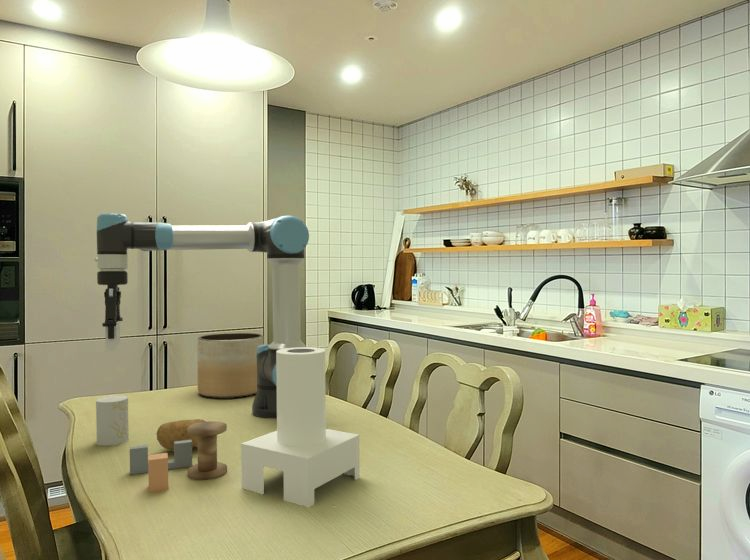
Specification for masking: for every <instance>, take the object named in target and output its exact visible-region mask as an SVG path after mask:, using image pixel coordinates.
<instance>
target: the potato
mask: <svg viewBox="0 0 750 560" xmlns="http://www.w3.org/2000/svg"><path fill="white" fill-rule="evenodd" d="M200 422H207V421H206V420H203V419H201V418H198V419H196V418H195V419H182V420H181V419H180V420H176V421H169V422H164V423H163V424H161V425H160V426H158V428H157V431H156V440H157V442H158V443H159V445H160V446H161V447H162V448H163V449H165V450H168V451H169V452H170V451H171V452H174V442H175V441H184V440H192V449H194V448H196V447H198V444H197V436H191V435H188V434H187V427H188V426H190V425H192V424H196V423H200Z"/></svg>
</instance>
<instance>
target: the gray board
mask: <svg viewBox="0 0 750 560" xmlns="http://www.w3.org/2000/svg"><path fill="white" fill-rule="evenodd" d="M148 455H149V445H148V444H143V445H135V446H129V475H130V476H131V475H136V474H145V473H148ZM173 456H174V459H171V460H169V459H168V470H174V469H181V468H187V467H188V468H190V467H191V466H193V448H192V440H184V441H175V442H174V451H173Z"/></svg>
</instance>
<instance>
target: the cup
mask: <svg viewBox="0 0 750 560" xmlns="http://www.w3.org/2000/svg"><path fill="white" fill-rule="evenodd" d="M95 408H96V409H95V411H96V414H95V415H96V416H95V417H96V419H95V421H96V422H95V423H96V444H97V445H98V446H102V447H103V446H104V447H110V446H116V445H117V446H118V445H121V444H125V443H126V442H128V441H129V440H130V439H129V438H130V437H129V436H130V435H129V397H128V396H127V395H108V396H103V397H100V398H97V399H96V400H95Z"/></svg>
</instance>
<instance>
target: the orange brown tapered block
mask: <svg viewBox="0 0 750 560" xmlns="http://www.w3.org/2000/svg"><path fill="white" fill-rule="evenodd" d="M168 461H169V455H168V452H161V453H154V454H148V472H147V473H148V492H149V493H153V492H159V491H166V490H169V469H168Z"/></svg>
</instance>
